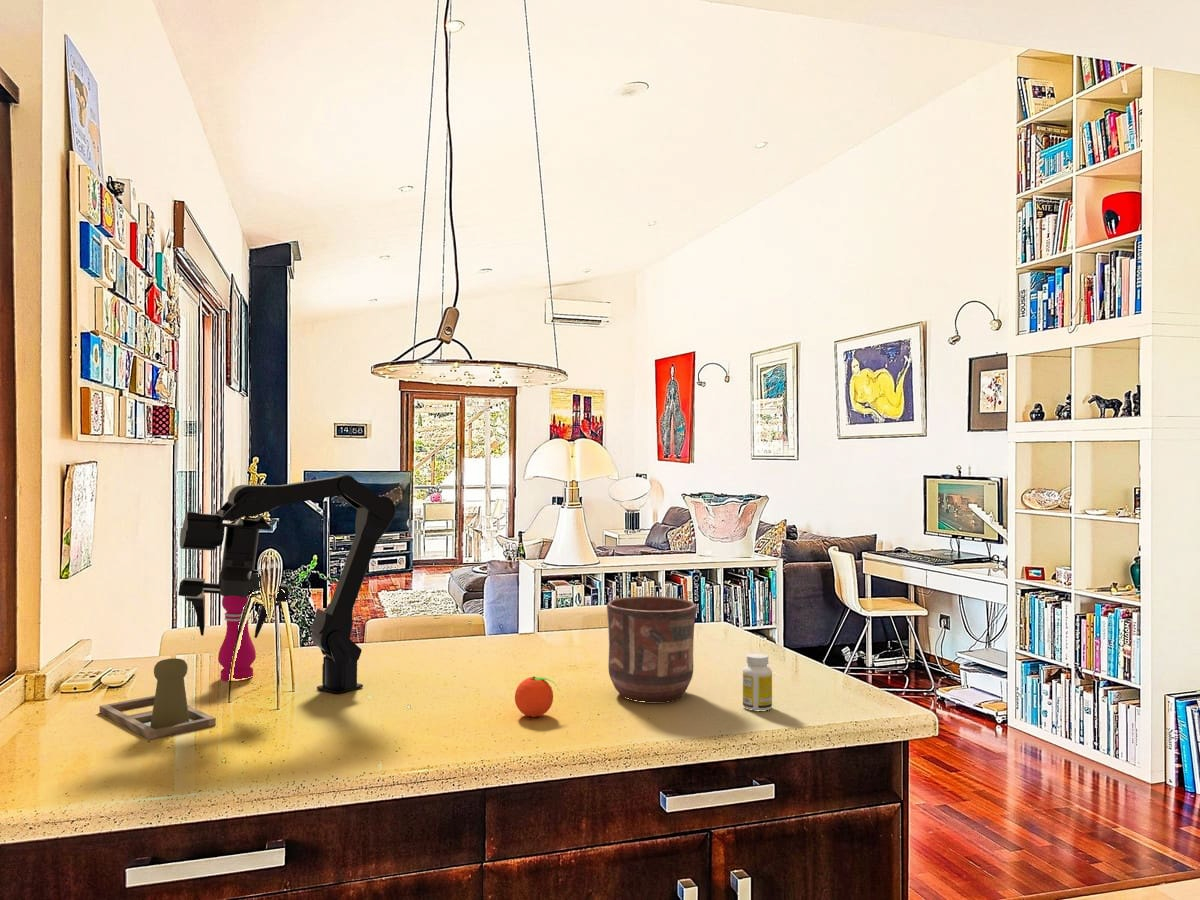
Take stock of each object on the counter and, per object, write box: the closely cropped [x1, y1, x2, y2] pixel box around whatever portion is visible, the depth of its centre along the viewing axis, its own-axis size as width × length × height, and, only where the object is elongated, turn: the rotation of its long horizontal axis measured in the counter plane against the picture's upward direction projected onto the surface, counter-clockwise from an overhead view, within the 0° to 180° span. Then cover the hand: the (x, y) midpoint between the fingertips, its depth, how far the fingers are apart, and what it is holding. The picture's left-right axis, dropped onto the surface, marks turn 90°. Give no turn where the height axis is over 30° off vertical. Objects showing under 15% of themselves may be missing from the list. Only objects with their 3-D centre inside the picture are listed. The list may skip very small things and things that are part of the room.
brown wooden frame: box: [98, 695, 217, 740], centre depth 157 cm, size 22×11×1 cm, turn 48°
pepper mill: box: [217, 596, 257, 682], centre depth 185 cm, size 7×7×20 cm
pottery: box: [606, 595, 697, 703], centre depth 176 cm, size 18×18×18 cm
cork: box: [150, 657, 190, 729], centre depth 153 cm, size 6×6×11 cm
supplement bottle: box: [742, 653, 773, 711], centre depth 167 cm, size 5×5×10 cm
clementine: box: [514, 676, 560, 718], centre depth 161 cm, size 8×7×7 cm
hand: (229, 636), depth 166 cm, fingers open, 9 cm apart
